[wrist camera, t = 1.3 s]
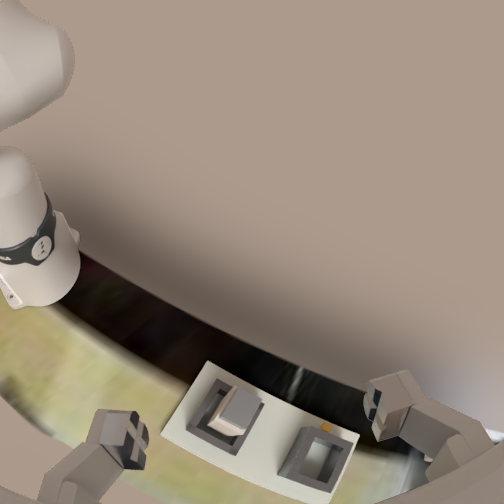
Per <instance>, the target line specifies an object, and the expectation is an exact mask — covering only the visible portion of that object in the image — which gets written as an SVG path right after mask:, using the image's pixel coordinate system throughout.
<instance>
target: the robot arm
mask: <svg viewBox="0 0 504 504" xmlns="http://www.w3.org/2000/svg"><path fill="white" fill-rule="evenodd" d="M74 62H75V57H74V50H73V46H72V43H71V41H70V39H69V37H68V36H67V34H66V33H65V32H64V31H63V30H62V29H61V28H60V27H58V26H57V25H55V24H53V23H50V22H47V21H45V20H42V19H41V18H39V17H37V16H35V15H34V14H32V13H31V12H30V11H28V10H27V9H26V8H25V7H24V6H23V5H22V4H21V3H20V1H19V0H0V131H3V130H4V129H6V128H8V127H10V126H12V125H15V124H17V123H19V122H21V121H23V120H25V119H27V118H29V117H31V116H33V115H34V114H36V113H37V112H38V111H40V110H42V109H43V108H45V107H47V106H48V105H49V104H51V103H53V102H54V101H56V100H57V99H59V98H60V97H62V96H63V94H64V93H65V91H66V90H67V88H68V86H69V83H70V81H71V78H72V75H73V70H74ZM80 237H81V236H80V234H79V232H78V231H77V230H75V229H72V228H70V227H69V226H68V224H67V222H66V220H65V218H64V215H63V214H62V213H61V212H58V211H55V210H54V209H53V206H52V203H51V201H50V200H49V198H48V196H47V195H46V193H45V192H43V189H42V186H41V183H40V180H39V177H38V174H37V171H36V168H35V165H34V162H33V161H32V159H31V158H30V157H29V155H27V154H26V153H25V152H23V151H22V150H20V149H17V148H15V147H11V146H0V288H1V290H2V292H3V294H4V296H5V298H6V300H7V301H8V303H9V305H10V306H11V308H12V309H19V308H22V307H25V306H46V305H49V304H52V303H54V302H56V301H58V300H59V299H61V298H62V297H63V296H65V295H66V294H67V293H68V292H69V290H70V289H71V288H72V286H73V285H74V283H75V281H76V279H77V277H78V274H79V270H80V256H79V250H78V247H79V243H80ZM12 296H13V298H11V297H12ZM366 388H367V390H368V392H367V393H366V395H365V396H364V409H365V413H366V415H367V418H368V419H369V420H371V421H373V425H372V430H373V432H374V434H375V437H376V439H377V441H381V440H385V439H388V438H391V437H394V436H397V435H399V437H401V438H402V439H404V440H405V441H406V442H408V443H409V444H411V445H412V446H414V447H415V448H417V449H418V450H419V451H421V452H422V453H424V454H425V455H427V456H428V457H430V458H431V459H433V461H432V463H431V464H430V465H429V467H428V468H427V470H426V471H425V475H426V477H427V479H428V483H426V484H424V485H422V486H419V487H417V488H415V489H412V490H410V491H407V492H405V493H402V494H400V495H397V496H395V497H392V498H389V499H386V500H383V501H381V502H378V503H375V504H504V440H503V441H502V442H500V443H499V444H497V445H496V446H495V445H494V444H493V442H492V440H491V439H490V437H489V436H488V434H487V432H486V431H485V429H484V428H483V426H482V425H481V423H480V422H479V421H477V420H475V419H473V418H471V417H468V416H466V415H464V414H462V413H460V412H457V411H456V410H453V409H451V408H449V407H447V406H445V405H443V404H441V403H439V402H437V401H434V400H432V399H429V400H427V398H426V397H425V395H424V393H423V392H422V390H421V389H420V387H419V386H418V384H417V382H416V381H415V379H414V378H413V376H412V375H411V373H410V372H409V371H408V370H403V371H400V372H397V373H393V374H389V375H386V376H383V377H379V378H376V379H372V380H369V381H368V382H367V386H366ZM139 417H140V416H139V415H138V413H137V412H136V411H120V410H104V409H98V410H97V411H96V412H95V415H94V418H93V421H92V424H91V427H90V430H89V433H88V436H87V439H86V442H85V443H83V442H82V443H81V444H80V445H79V446H77V447H76V448H75V449H74V450H73V451H72V452H71V453H69V454H68V455H67V456H66V457H65V458H64V459H63V460H61V461H60V462H59V463H58V464H57V465H55V466H54V467H53V468H52V469H51V470H50V471H48V472H47V473H46V474H45V475H44V478H43V482H42V485H41V488H40V491H39V494H38V498H37V501H36V500H33V499H30V498H28V497H25V496H23V495H20V494H18V493H15V492H13V491H11V490H8V489H6V488H4V487H2V486H0V504H101V503H100V502H98V501H99V500H100V499H101V498H102V496H103V495H104V494H105V493H106V491H107V490H108V489H109V488H110V487H111V485H112V484H113V483H114V482H115V481H116V479H117V478H118V477H119V476H120V475H121V473H122V472H123V471H124V470H123V469H128V470H144V467H145V461H146V455H145V453H144V452H143V451H144V450H145V449H146V448H147V447H148V442H149V436H148V431H147V428H146V426H145V424H144V423H142V422H140V421H139Z"/></svg>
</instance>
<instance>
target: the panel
mask: <svg viewBox="0 0 504 504" xmlns="http://www.w3.org/2000/svg"><path fill="white" fill-rule="evenodd" d="M234 385H235V386H237V387H241V388H243V389H244V390H246V391H248V392H250V393H252V394H254V395H256V396H258V397H260V398H262V401H261V403H260V405H259V407H258V409H257V410H256V412H255V414H254V416H253V418H252V420H251V421H250V423H249V425H248V427H247V429H246V430H245V432H244V434H243V435H235V436H224V435H222V434H220V433H218V432H216V431H214V430H212V429H211V428H209V427H207V426H206V424H207V423H208V421H209V419H210V418H211V416H212V415H213V413H214V411H215V410H216V408H217V406H218V405H219V403H220V402H221V400H222V399H223V398H224V397H225V396H226V395H227V393H228V392H229V391H230V390H231V389H232V388H233V386H234ZM307 426H313V427H316V428H318V429H320V430H323V431H325V432H327V433H330V434H332V435H335V436H337V437H340V438H342V439H345V440H347V441H350V442H352V443H354V444H353V446H352V449H351V451H350V454H349V456H348V458H347V460H346V463H345V465H344V467H343V469H342V472H341V474H340V476H339V478H338V480H337V482H336V484H335V486H334V488H333V490H332V492H331V493H327V492H323V491H320V490H316V489H313V488H310V487H308V486H305V485H302V484H299V483H296V482H294V481H291V480H288V479H286V478H283V477H281V476H278V475H277V473H278V472H279V470H280V468H281V466H282V464H283V462H284V460H285V459H286V457H287V455H288V453H289V451H290V449H291V447H292V445H293V443H294V441H295V439H296V437H297V435H298V433H299V431H300V429H301V428H302V427H307ZM160 435H161V436H163V437H165V438H166V439H168V440H170V441H171V442H173V443H175V444H176V445H178V446H180V447H181V448H183V449H185V450H187V451H189V452H190V453H192V454H194V455H196V456H198V457H200V458H201V459H203V460H205V461H207V462H209V463H211V464H213V465H215V466H217V467H219V468H221V469H223V470H225V471H227V472H229V473H231V474H234V475H236V476H238V477H240V478H242V479H245V480H247V481H249V482H252V483H254V484H256V485H259V486H261V487H264V488H266V489H269V490H271V491H274V492H277V493H279V494H282V495H285V496H287V497H290V498H293V499H296V500H299V501H302V502H305V503H308V504H329V502H330V500H331V498H332V496H333V494H334V492H335V490H336V488H337V486H338V484H339V482H340V480H341V478H342V475H343V473H344V471H345V469H346V467H347V464H348V462H349V460H350V457H351V455H352V453H353V450H354V448H355V446H356V443H357V441H358V438H359V436H360V435H359V434H356V433H354V432H351V431H349V430H346V429H344V428H342V427H339V426H337V425H334V424H332V423H330V422H327V421H325V420H323V419H321V418H318V417H316V416H314V415H312V414H309V413H307V412H305V411H303V410H301V409H299V408H296V407H294V406H292V405H290V404H288V403H286V402H284V401H282V400H280V399H278V398H276V397H274V396H272V395H270V394H268V393H266V392H264V391H262V390H260V389H258V388H256V387H254V386H253V385H251V384H249V383H247V382H245V381H243V380H241V379H240V378H238V377H236V376H234V375H232V374H230V373H229V372H227V371H225V370H223V369H222V368H220V367H218V366H216V365H215V364H213V363H211V362H209V361H207V362H206V364H205V365H204V367H203V369H202V370H201V372H200V373H199V375H198V376H197V378H196V380H195V381H194V383H193V384H192V386H191V387H190V389H189V391H188V392H187V394H186V395H185V397H184V398H183V400H182V401H181V403H180V405H179V406H178V408H177V409H176V411H175V412H174V414H173V415H172V417H171V419H170V420H169V422H168V423H167V425H166V426H165V428H164V429H163V431H162V432H161V434H160ZM330 450H331V448H329V447H326V446H323V445H321V444H318V443H316V442H314V441H313V443H312V445H311V447H310V450H309V452H308V454H307V456H306V458H305V460H304V462H303V464H302V466H301V468H300V470H299V471H298V473H299V474H301V475H304V476H307V477H309V478H312V479H315V480H316V479H317V477H318V475H319V473H320V471H321V469H322V467H323V465H324V463H325V461H326V459H327V457H328V454H329V452H330Z"/></svg>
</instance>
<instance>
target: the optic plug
mask: <svg viewBox="0 0 504 504" xmlns="http://www.w3.org/2000/svg"><path fill="white" fill-rule="evenodd" d="M261 401H262V398H260V397H258V396H256V395H254V394H252V393H250V392H248V391H246V390H244V389H243V388H241V387H237V386H235V385H234V386H233V388H232V389H231V390H230V391H229V392H228V393H227V395H226V396H225V397H224V398H223V399H222V400H221V402H220V403H219V405H218V406H217V408H216V410H215V411H214V413H213V415H212V416H211V418H210V419H209V421H208V423H207V424H206V426H207V427H209V428H211V429H212V430H214V431H216V432H218V433H220V434H222V435H224V436H235V435H243V434H244V432H245V430H246V429H247V427H248V425H249V423H250V421H251V420H252V418H253V416H254V414H255V412H256V410H257V409H258V407H259V405H260V403H261Z"/></svg>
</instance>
